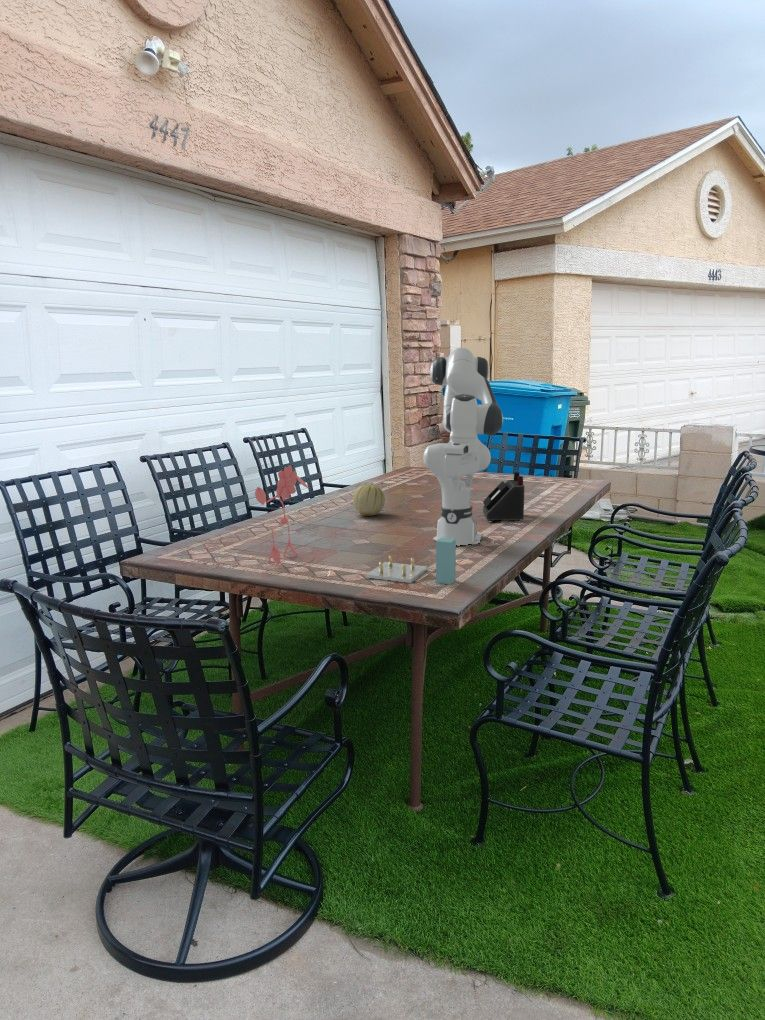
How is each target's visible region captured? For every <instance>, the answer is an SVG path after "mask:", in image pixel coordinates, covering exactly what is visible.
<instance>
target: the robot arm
mask: <svg viewBox="0 0 765 1020" xmlns="http://www.w3.org/2000/svg"><path fill="white" fill-rule="evenodd" d="M488 362H489V361H488V360H487V359H486V358H485V357H483V356H482V357H481V356H476V357H475V356H474V354H473V353H472V351H471V350H470V349H468V348H466V347H458V348H455V349H453V350H452V351H451V352H450V353H449V355H448V356H439V357H436V358H434V359H433V360H432V362H431V364H430V367H429V376H430V378H431V381H432V383H433V384H434V385H437V386H445V390H444V397H443V410H442V411H443V415H442V416H443V418H442V423H443V424H442V426H443V428H444V429H445V431H446V432H448V433H450V434H449V441H448V442H447V443H445V442H444V443H443V442H439V443H433V444H429V445H428V446H427V447H426V448H425V450H424V452H423V455H422V458H423V459H422V460H423V463H424V466H425V467H426V469H427V470H429V471H430V472H431V473H432V474H434V476H435V477H436V478H437V480H438V483H439V484H440V488H441V489H440V490H441V499H442V503H441V507H440V516H441V517H440V518H439V519H437V524H436V525H437V526H436V535H435V536H434V537H433V540H432V541H435V542H436V541H437V540H438V539H440V538H452V539H456V545H457V546H456V547H461V546H460V545H466V546H469V545H468V544H472V545H479V544H478V543H481V541H480V540H482V538H481V537H483V532H480V531H477V526H478V525H477V521H476V520H475V518H474V517H473V510H474V506H473V504H472V502H471V501H472V498H471V495H472V489H471V487H472V484H473V480H474V477H475V476H474V475H475V473H478V472H482V471H485V470H486V469H487V468H488V467H489V465H490V463H491V458H492V457H491V452H490V449H489V448H488V447H487V446H486V445H485V444H484V443H483V442H481V440H479V438H478V437H479V436H478V435H485V436H494V435H496V434H497V433H499V431H500V430H501V429H503V423H504V416H503V412H502V409H501V407H500V406H499V403H498V402H497V400H496V396H495V394H494V391H493V389H492V386H491V384H490V381H489V380H488V378H489V376H490V371H491V369H490V365H489V363H488ZM477 399H478V400H479V401H480V402H481V404H478V402H477ZM461 477H462V478H463V477H466V478H465V479H466V480H465V481H464V480H461Z"/></svg>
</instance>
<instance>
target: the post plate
mask: <svg viewBox="0 0 765 1020" xmlns="http://www.w3.org/2000/svg"><path fill="white" fill-rule="evenodd" d="M426 570H427V571H428V566H427V565H417V564H415V558H414V557H412V558H411V559H410V564H407V563H398V562H393V555H389V556H388V561H384V562H382V561H380V562H379V565H378V566H376V567H374V569H372V570H371V571H369V572H368V573H366V574H365V578H366V579H370V578H374V579H373V580H378V579H383V580H382V581H387V580H391V581H390V582H396V581H398V583H404V582H405V584H412V583H413V582H415V581H416V580H417V579H418V578H419V577H421V576H422V575H423V574H424V573H426V572H427V571H426Z"/></svg>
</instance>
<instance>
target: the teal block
mask: <svg viewBox="0 0 765 1020" xmlns="http://www.w3.org/2000/svg"><path fill="white" fill-rule="evenodd" d="M435 547H436V548H435V583H437V584H445V585H452V584H453V583H454V582H455V581H456V569H457V568H456V563H457V562H456V560H457V559H456V557H457V556H456V554H457V551H456V550H457V549H456V547H457V546H456V539H452V538H440V539H438V540H437V541H435Z"/></svg>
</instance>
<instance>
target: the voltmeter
mask: <svg viewBox="0 0 765 1020" xmlns="http://www.w3.org/2000/svg"><path fill="white" fill-rule="evenodd" d="M482 503H483V506H482V513H483V515H484V518H485V519H486V520H487V522H488V521H493V522H494V521H499V520H501V521H503V520H505V521H506V520H507V521H510V520H511V521H512V520H515V522H516V521H518V522H517V523H520V522H521V520H524V519H525V518H524V517H525V485H524V476H523V475H520V472H518V471H514V472H513V479H507V480H506V482H504V481H503V480H502V481H501V482H500V483H499V484H498V485H496V487H495V488H494V489H493V490H492V491H491V492H490V493H489V494H488V496H486V497H485V498H484V500H483V501H482ZM519 521H520V522H519Z"/></svg>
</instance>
